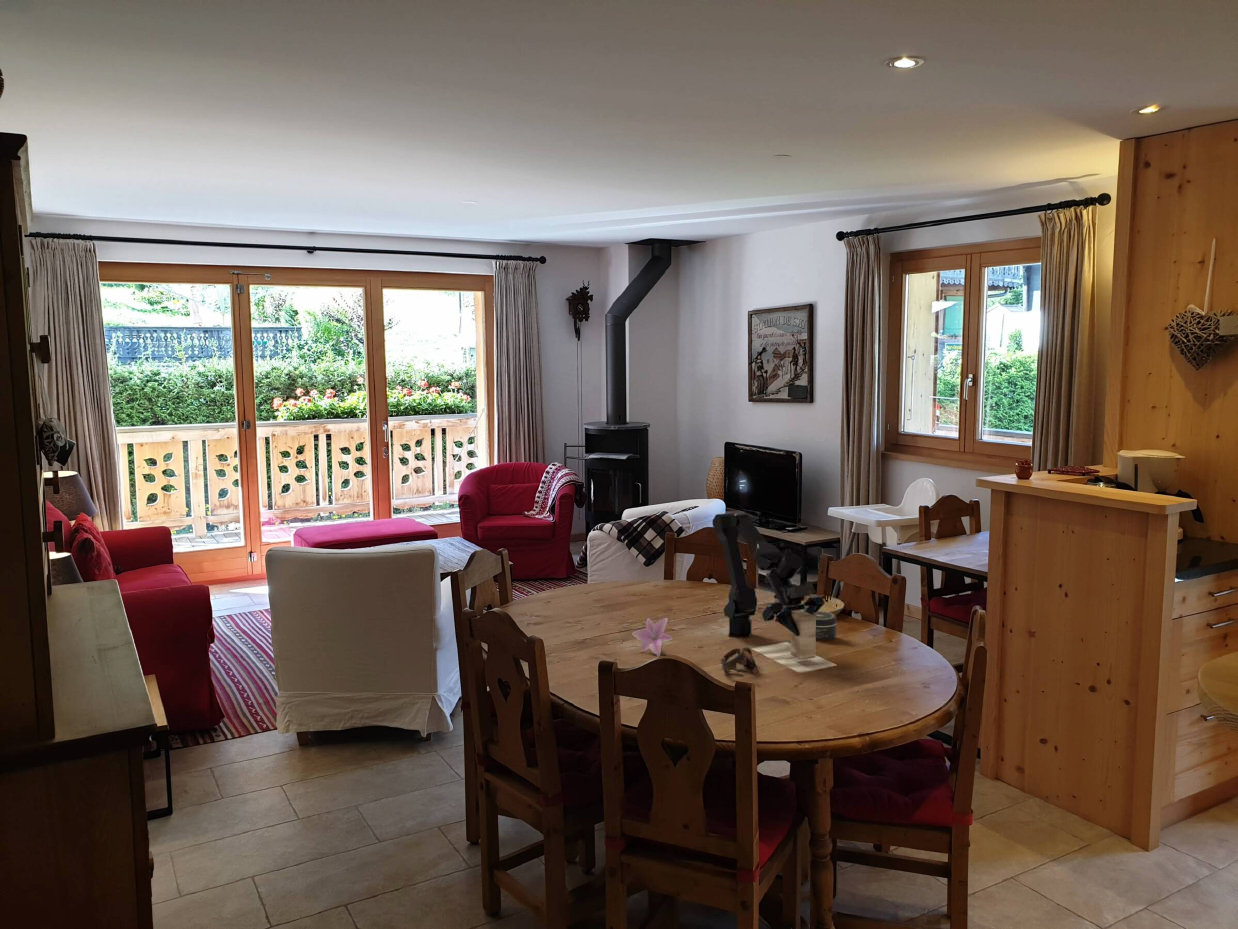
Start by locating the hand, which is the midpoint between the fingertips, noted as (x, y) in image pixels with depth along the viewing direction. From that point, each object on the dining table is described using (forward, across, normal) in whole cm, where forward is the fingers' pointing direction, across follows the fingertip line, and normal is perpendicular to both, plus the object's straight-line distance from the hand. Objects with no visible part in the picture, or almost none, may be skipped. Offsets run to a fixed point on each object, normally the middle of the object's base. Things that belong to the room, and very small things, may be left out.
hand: (806, 634), depth 257 cm
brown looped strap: (+4, -19, +10) cm, 22 cm away
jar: (-6, +19, +20) cm, 28 cm away
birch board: (+2, 0, +11) cm, 11 cm away
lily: (-16, -32, +31) cm, 47 cm away
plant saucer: (-24, +35, +39) cm, 57 cm away
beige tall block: (+4, 0, +6) cm, 7 cm away
